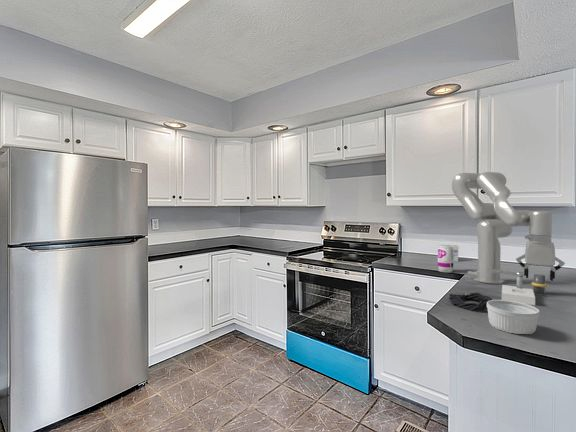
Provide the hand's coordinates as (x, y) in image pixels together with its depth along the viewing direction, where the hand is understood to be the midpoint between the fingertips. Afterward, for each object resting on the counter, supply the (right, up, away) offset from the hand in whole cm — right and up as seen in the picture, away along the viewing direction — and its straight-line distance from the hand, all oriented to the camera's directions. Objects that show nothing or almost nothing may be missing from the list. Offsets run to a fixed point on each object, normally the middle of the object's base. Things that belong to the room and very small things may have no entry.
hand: (538, 278), depth 134 cm
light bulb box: (+6, -5, +85) cm, 85 cm away
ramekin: (-41, -8, -39) cm, 57 cm away
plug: (0, -6, 0) cm, 6 cm away
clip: (-14, +2, +1) cm, 14 cm away
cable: (-40, -7, -16) cm, 44 cm away
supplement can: (-17, -5, +46) cm, 50 cm away
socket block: (-14, -7, -8) cm, 18 cm away
